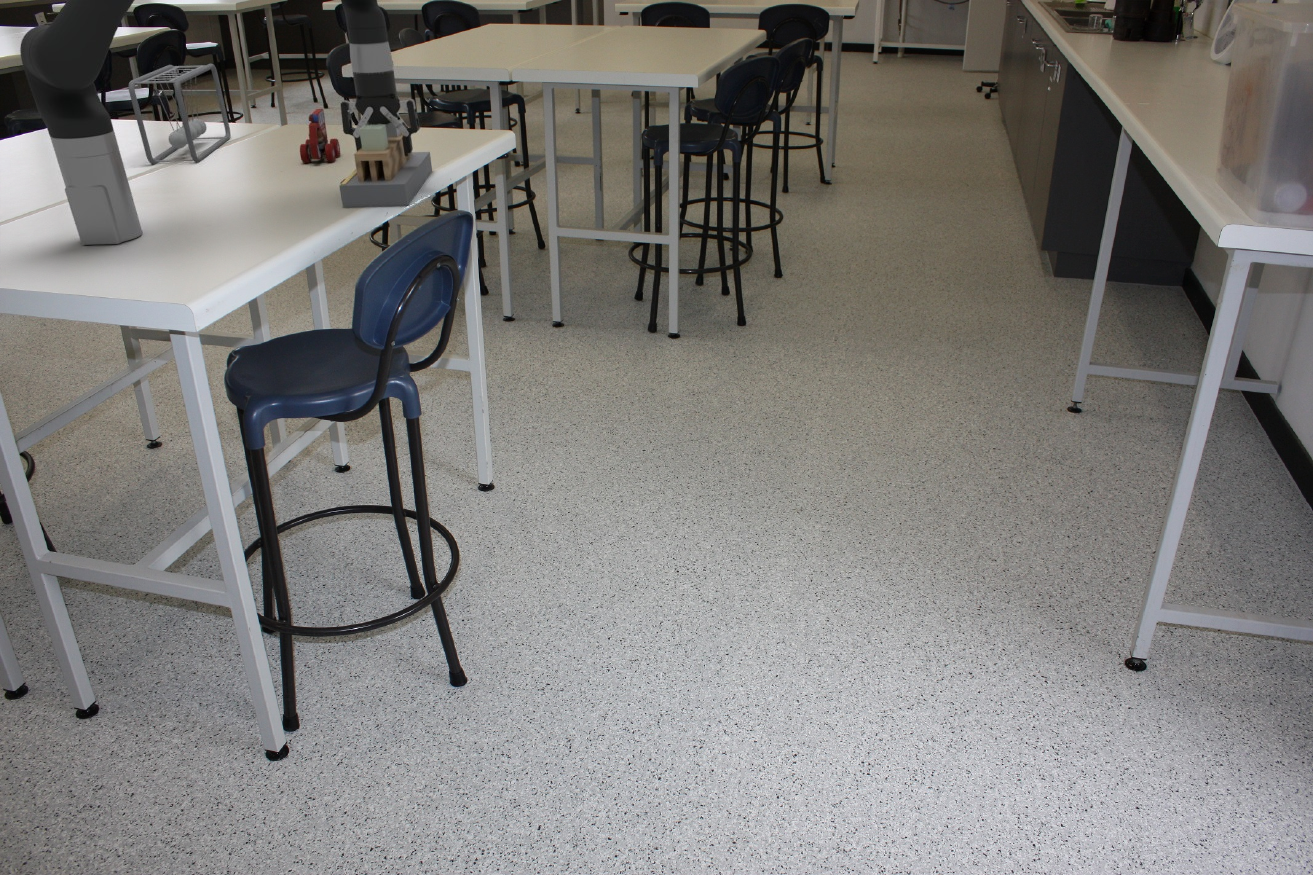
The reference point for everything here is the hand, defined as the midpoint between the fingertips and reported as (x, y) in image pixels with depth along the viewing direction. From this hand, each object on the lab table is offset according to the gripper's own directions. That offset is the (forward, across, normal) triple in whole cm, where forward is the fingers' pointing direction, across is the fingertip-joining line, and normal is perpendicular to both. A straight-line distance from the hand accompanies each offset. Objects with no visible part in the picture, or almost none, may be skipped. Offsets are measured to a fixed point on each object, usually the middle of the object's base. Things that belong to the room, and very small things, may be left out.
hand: (385, 155), depth 186 cm
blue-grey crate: (-3, 0, +6) cm, 7 cm away
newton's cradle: (+7, -55, +41) cm, 69 cm away
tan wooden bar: (+2, 0, 0) cm, 2 cm away
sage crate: (-3, 0, -6) cm, 7 cm away
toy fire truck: (+7, -21, +28) cm, 36 cm away
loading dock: (+6, 0, 0) cm, 6 cm away
